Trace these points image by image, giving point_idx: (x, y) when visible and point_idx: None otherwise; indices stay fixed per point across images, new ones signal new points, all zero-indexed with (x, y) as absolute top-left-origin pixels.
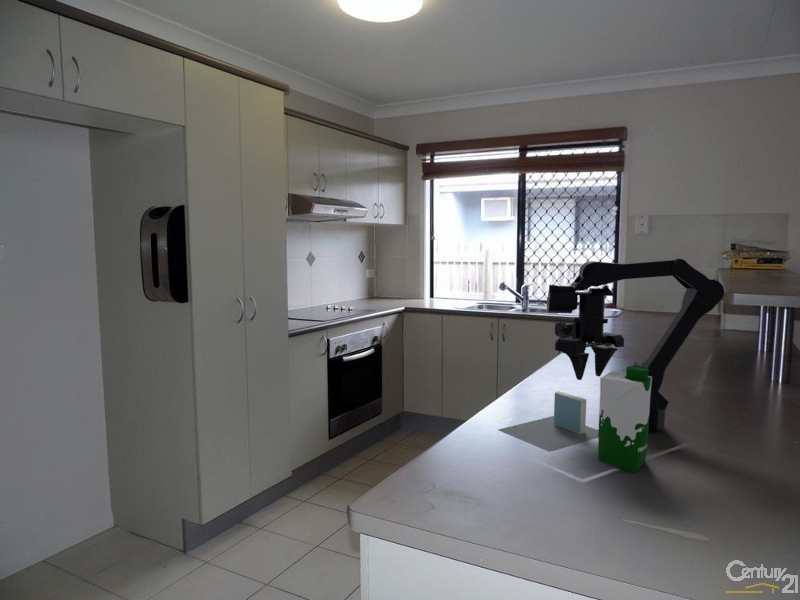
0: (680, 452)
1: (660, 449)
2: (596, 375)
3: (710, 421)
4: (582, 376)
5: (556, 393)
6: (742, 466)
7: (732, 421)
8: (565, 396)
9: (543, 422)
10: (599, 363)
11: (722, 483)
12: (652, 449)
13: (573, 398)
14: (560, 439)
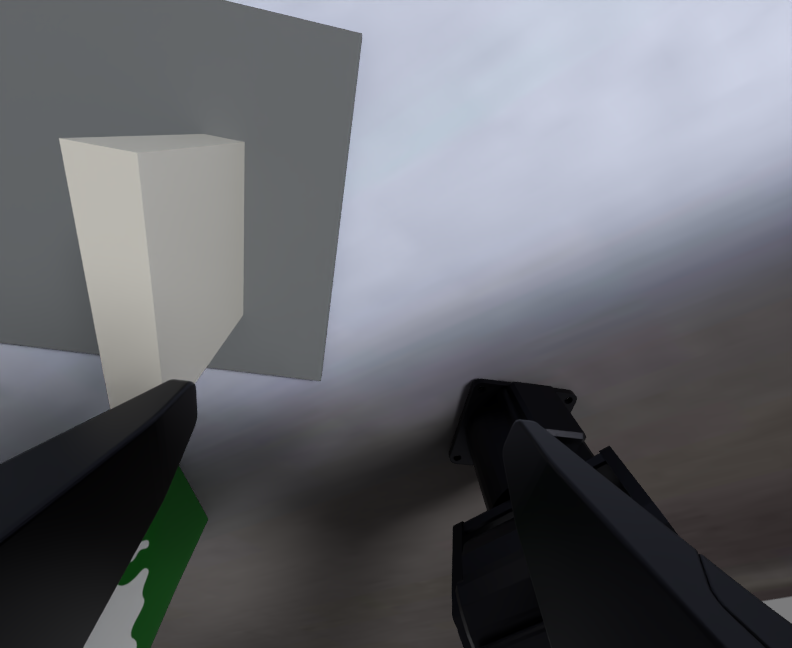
0: (365, 536)
1: (343, 505)
2: (513, 427)
3: (722, 497)
4: (172, 468)
5: (69, 163)
6: (385, 616)
7: (752, 526)
8: (91, 274)
9: (171, 61)
10: (586, 597)
11: (252, 622)
12: (324, 494)
13: (101, 352)
14: (63, 287)
